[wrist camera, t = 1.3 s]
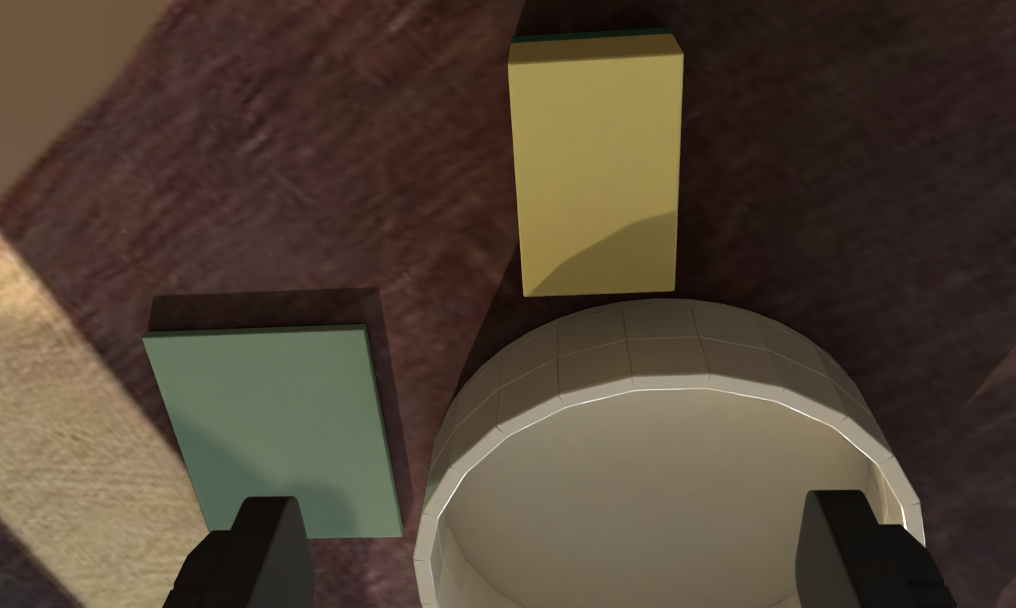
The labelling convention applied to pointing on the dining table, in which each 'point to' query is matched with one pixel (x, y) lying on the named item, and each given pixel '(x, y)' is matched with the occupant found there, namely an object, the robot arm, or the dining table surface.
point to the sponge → (597, 159)
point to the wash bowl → (645, 463)
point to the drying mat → (281, 423)
